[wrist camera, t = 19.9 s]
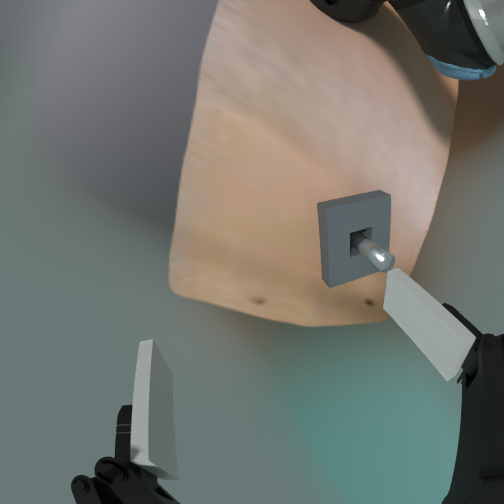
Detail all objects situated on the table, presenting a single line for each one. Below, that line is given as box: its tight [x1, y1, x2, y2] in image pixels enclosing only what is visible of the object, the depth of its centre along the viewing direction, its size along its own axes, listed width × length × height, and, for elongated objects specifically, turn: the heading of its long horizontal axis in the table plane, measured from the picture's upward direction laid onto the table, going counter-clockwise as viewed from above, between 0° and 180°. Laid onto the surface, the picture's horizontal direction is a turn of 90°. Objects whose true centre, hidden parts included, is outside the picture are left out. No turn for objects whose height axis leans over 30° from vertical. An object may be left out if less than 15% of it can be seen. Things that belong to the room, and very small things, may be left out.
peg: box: [350, 231, 395, 272], centre depth 45 cm, size 3×3×12 cm
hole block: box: [317, 190, 391, 288], centre depth 49 cm, size 16×14×4 cm
